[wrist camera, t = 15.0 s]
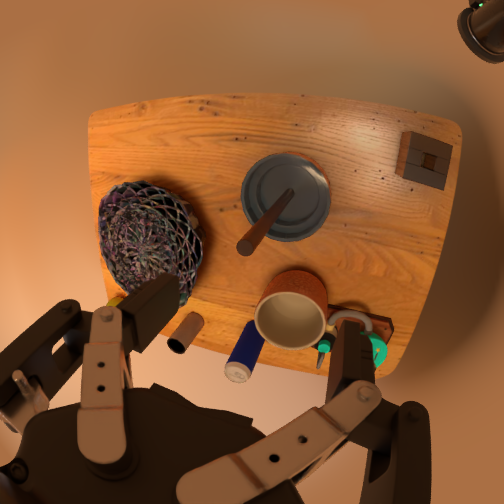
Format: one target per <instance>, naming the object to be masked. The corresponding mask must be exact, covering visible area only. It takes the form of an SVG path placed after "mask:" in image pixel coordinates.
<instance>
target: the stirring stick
mask: <svg viewBox="0 0 504 504" xmlns="http://www.w3.org/2000/svg"><path fill="white" fill-rule="evenodd" d="M293 196H294V191H293V190H292V189H287V190H286V191H285V192H284V193H283V194H282V195H281V196H280V197H279V198H278V200H277V201H276V202H275V203H274V204H273V205H272V206H271V207H270V208H269V209H268V210H267V211H266V212H265V214H264V215H263V216H262V217H261V218H260V219H259V220H258V221H257V222H256V223H255V224H254V225H253V226H252V228H251V229H250V230H249V231H248V232H247V233H246V234H245V235H244V236H243V237H242V238H241V240H240V241H239V242H238V243H237V246H236V248H237V251H238V253H239V254H241V255H242V256H250V255H251V254H252V253H253V252H254V250H255V249H256V247H257V246H258V245H259V243H260V242H261V240H262V239H263V238H264V236H265V235H266V234H267V232H268V231H269V229H270V228H271V227H272V225H273V224H274V222H275V221H276V220H277V218H278V217H279V215H280V214H281V213H282V211H283V210H284V209H285V207H286V206H287V204H288V203H289V202H290V200H291V199H292V197H293Z"/></svg>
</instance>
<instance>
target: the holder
mask: <svg viewBox="0 0 504 504" xmlns="http://www.w3.org/2000/svg"><path fill="white" fill-rule="evenodd" d="M452 147H453V146H452V145H450V144H447V143H444V142H441V141H439V140H436V139H433V138H430V137H427V136H424V135H421V134H418V133H415V132H412V131H409V132H402V137H401V143H400V149H399V155H398V160H397V165H396V170H395V174H397V175H399V176H400V177H402V178H404V179H408V180H411V181H414V182H418V183H421V184H424V185H427V186H430V187H434V188H437V189H440V190H443V191H444V187H445V183H446V178H447V174H448V169H449V164H450V159H451V153H452ZM423 153H425V160H424V165H423V167H421V166H420V165H421V160H422V155H423Z"/></svg>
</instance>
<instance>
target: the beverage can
mask: <svg viewBox="0 0 504 504" xmlns="http://www.w3.org/2000/svg"><path fill="white" fill-rule="evenodd" d="M264 341H265V339H264V338H263V337H262V336H261V335H260V333H259V332H258V330H257V328H256V325H255V321H250V322H248V323H247V324H246V326H245V328H244V330H243V332H242V334H241V336H240V338H239V340H238V342H237V343H236V345H235V347H234V349H233V351H232V353H231V355H230V357H229V359H228V361H227V363H226V365H225V370H224V372H225V375H226V377H227V378H228V379H229V380H231V381H233V382H236V383H244V382H246V381H247V380H248V379H249V378H250V376H251V374H252V371H253V369H254V366H255V364H256V361H257V359H258V356H259V354H260V351H261V349H262V346H263V344H264Z"/></svg>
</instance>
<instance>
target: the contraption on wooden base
mask: <svg viewBox="0 0 504 504" xmlns="http://www.w3.org/2000/svg"><path fill="white" fill-rule="evenodd" d="M344 319H345V320H350V321H355V322H359V323H360V334H363V335H368V337H369V339H370V340H371V342H372V345H373V358H374V359H373V360H374V372H375V370H376V368H377V367H378V366H380V365H381V364H382V363H383V361H384V360H385V358H386V356H387V346H386V345H387V344H388V342H389V340H390V338H391V336H392V334H393V332H394V327H393V324H392V321H391V318H387V317H383V316H378V315H374V314H369V313H365V312H361V311H356V310H352V309H347V308H343V307H339V306H335V305H330V304H328V306H327V325H326V329H325V332H324V334H323V336H322V337H321V339H320V340H319V341H318V342H317V343H315V344H314V345H312V346H311V347H313V348H315V349H317V350H318V351H319V354H318V361H317V367H316V368H317V369H319V368H320V366H321V364H322V362H323V359H324V356H325V353H328V352H332V348H333V345H334V342H335V340H336V337H337V335H338V332H339V329H340V327H341V324H342V322H343V320H344Z"/></svg>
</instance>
